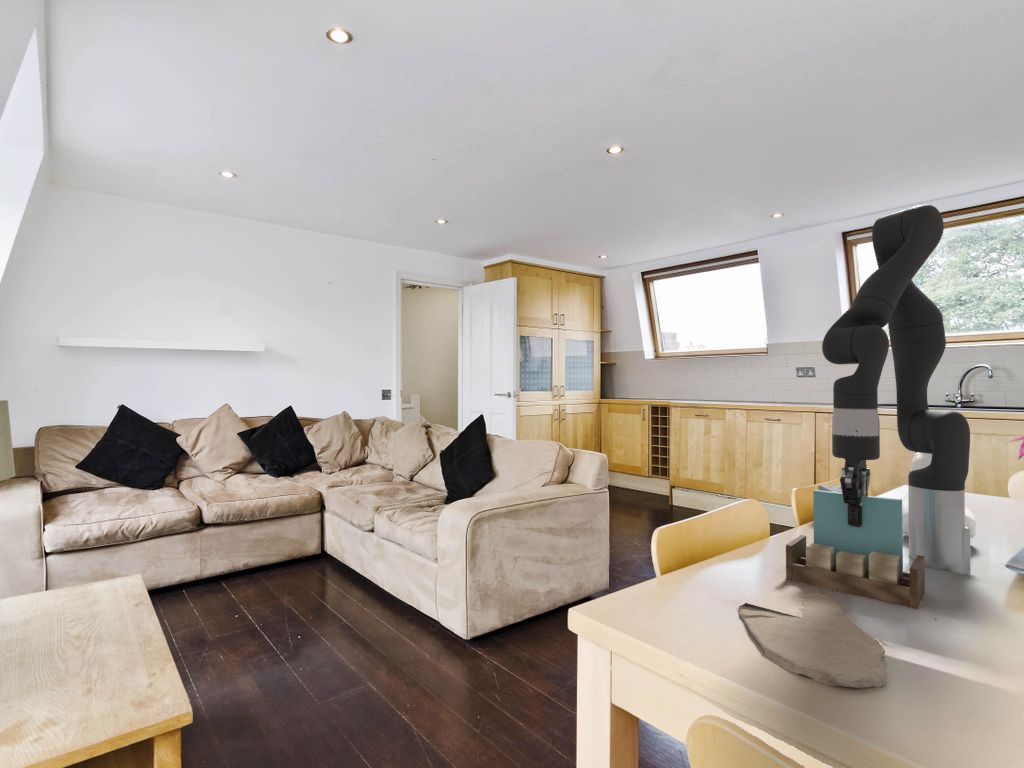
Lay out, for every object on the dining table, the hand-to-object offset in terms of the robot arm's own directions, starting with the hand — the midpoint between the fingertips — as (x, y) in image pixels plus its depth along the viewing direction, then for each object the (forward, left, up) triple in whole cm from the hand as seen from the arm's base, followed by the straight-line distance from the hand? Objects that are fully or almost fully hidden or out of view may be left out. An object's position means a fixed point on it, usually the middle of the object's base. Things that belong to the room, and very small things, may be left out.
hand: (856, 525), depth 100 cm
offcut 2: (-2, +6, -11) cm, 13 cm away
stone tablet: (+14, +24, -13) cm, 30 cm away
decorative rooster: (-31, -46, -12) cm, 57 cm away
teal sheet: (0, 0, -10) cm, 10 cm away
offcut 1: (+6, +2, -11) cm, 13 cm away
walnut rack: (+1, +2, -12) cm, 12 cm away
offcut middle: (+2, +4, -11) cm, 11 cm away
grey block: (-13, -57, -12) cm, 59 cm away
